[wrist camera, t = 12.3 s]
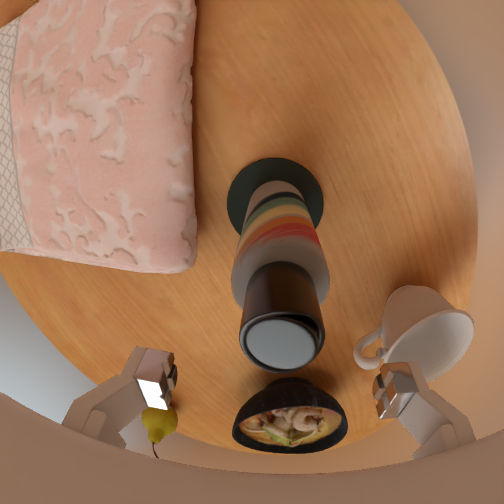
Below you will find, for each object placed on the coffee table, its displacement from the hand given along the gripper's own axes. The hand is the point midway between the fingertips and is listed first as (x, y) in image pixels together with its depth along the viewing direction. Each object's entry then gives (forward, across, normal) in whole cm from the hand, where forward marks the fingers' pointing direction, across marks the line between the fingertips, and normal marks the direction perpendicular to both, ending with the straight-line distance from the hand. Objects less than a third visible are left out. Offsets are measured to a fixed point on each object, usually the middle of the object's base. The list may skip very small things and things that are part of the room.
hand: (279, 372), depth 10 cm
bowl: (+22, -5, +31) cm, 39 cm away
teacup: (+22, -17, +12) cm, 30 cm away
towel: (+22, +25, -10) cm, 35 cm away
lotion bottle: (+22, 0, 0) cm, 22 cm away
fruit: (+22, +18, +40) cm, 49 cm away
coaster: (+22, 0, 0) cm, 22 cm away
